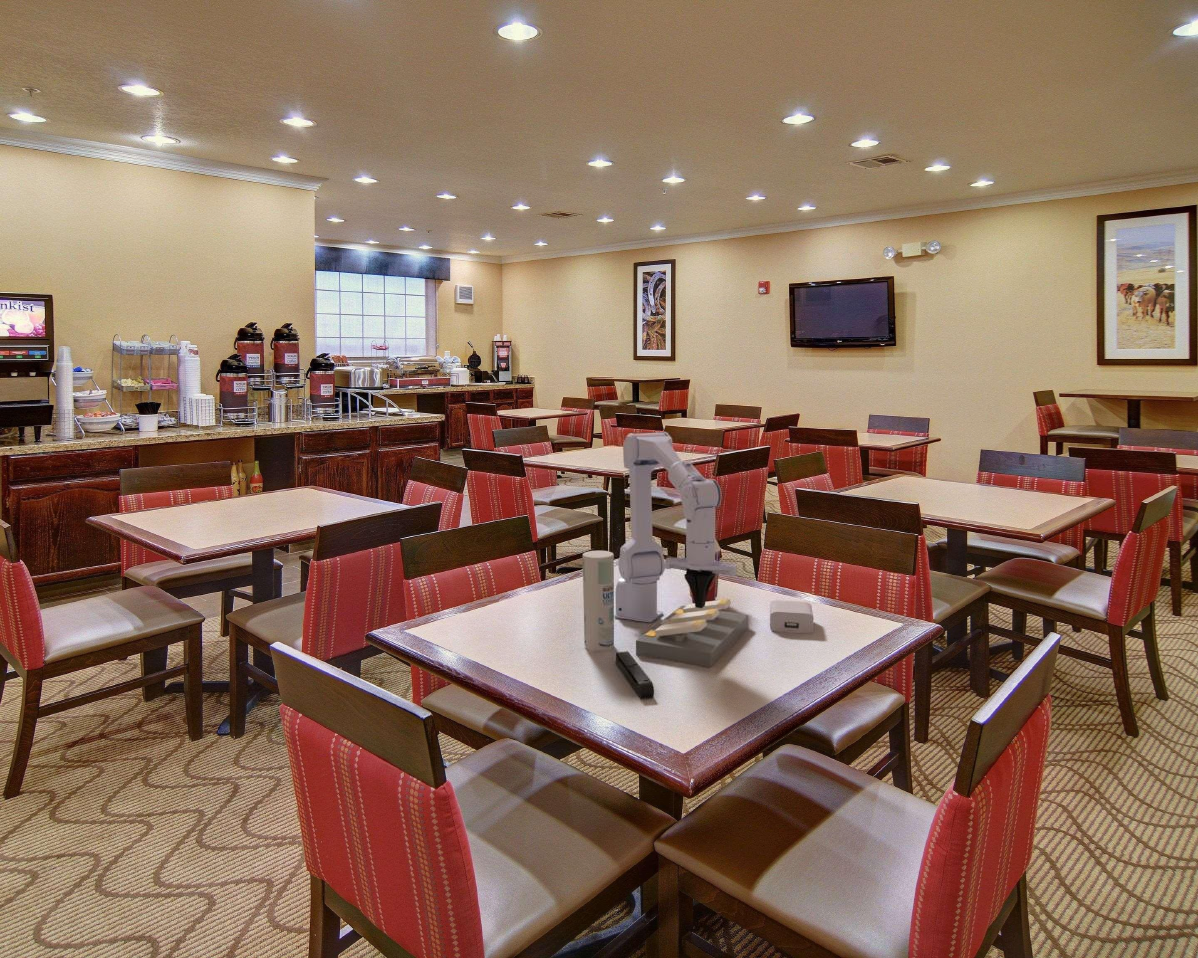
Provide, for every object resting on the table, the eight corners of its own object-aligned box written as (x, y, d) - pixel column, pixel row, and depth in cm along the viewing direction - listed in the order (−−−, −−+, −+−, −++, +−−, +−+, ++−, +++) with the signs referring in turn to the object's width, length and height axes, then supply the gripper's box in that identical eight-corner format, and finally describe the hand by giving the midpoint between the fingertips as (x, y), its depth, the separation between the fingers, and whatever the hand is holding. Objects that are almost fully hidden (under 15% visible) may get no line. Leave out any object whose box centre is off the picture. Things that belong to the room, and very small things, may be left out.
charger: (809, 613, 181) (813, 634, 166) (769, 611, 183) (770, 632, 168) (809, 594, 180) (813, 613, 166) (770, 592, 182) (770, 611, 168)
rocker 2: (670, 624, 163) (668, 618, 163) (677, 619, 166) (675, 613, 166) (713, 619, 158) (711, 613, 158) (719, 613, 162) (718, 608, 162)
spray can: (604, 653, 156) (603, 559, 153) (577, 648, 159) (576, 555, 156) (620, 644, 161) (619, 552, 158) (594, 638, 164) (593, 549, 162)
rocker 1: (655, 636, 156) (654, 630, 156) (663, 630, 159) (661, 624, 159) (700, 631, 151) (698, 624, 151) (707, 625, 154) (705, 618, 154)
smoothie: (725, 599, 192) (726, 521, 190) (711, 607, 185) (712, 527, 183) (695, 594, 197) (696, 518, 194) (681, 602, 190) (681, 524, 187)
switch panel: (635, 654, 155) (635, 634, 154) (681, 617, 178) (682, 600, 177) (710, 667, 148) (710, 646, 147) (748, 627, 171) (748, 609, 170)
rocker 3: (683, 614, 170) (682, 608, 170) (690, 609, 173) (688, 603, 173) (725, 608, 165) (723, 602, 165) (731, 603, 169) (729, 598, 169)
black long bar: (654, 700, 134) (654, 684, 134) (640, 701, 133) (640, 685, 133) (627, 663, 151) (627, 648, 151) (614, 664, 151) (614, 650, 150)
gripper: (659, 541, 150) (659, 607, 152) (729, 548, 144) (728, 617, 146) (672, 534, 157) (672, 597, 158) (740, 540, 150) (739, 606, 152)
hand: (700, 606), depth 152 cm, fingers closed
